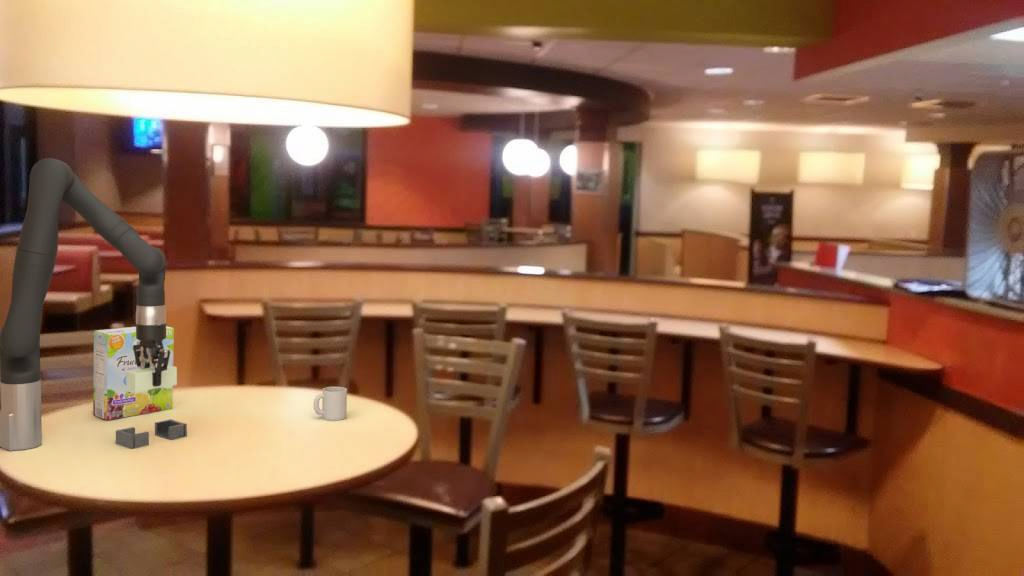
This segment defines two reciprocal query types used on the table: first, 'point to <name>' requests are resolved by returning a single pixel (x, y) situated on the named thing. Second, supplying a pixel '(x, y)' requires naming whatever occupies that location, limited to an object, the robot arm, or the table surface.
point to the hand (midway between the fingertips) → (151, 384)
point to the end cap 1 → (131, 438)
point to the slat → (149, 379)
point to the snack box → (124, 376)
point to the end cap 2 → (170, 429)
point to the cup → (332, 403)
